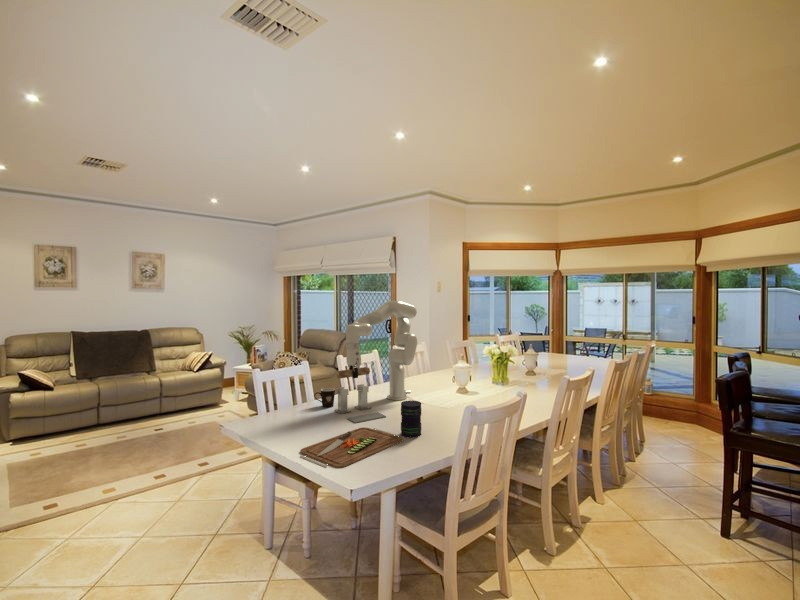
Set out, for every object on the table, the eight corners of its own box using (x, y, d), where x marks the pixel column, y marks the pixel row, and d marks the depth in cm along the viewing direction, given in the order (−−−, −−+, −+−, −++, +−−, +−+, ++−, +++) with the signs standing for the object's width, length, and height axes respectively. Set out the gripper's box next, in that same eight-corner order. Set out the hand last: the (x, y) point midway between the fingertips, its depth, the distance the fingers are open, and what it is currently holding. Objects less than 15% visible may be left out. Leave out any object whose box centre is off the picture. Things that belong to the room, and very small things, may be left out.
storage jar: (397, 436, 193) (397, 404, 192) (404, 429, 202) (404, 399, 202) (417, 439, 189) (417, 406, 189) (424, 432, 198) (424, 401, 198)
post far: (365, 405, 245) (365, 383, 244) (370, 408, 239) (370, 386, 239) (354, 407, 241) (354, 385, 241) (360, 410, 235) (360, 387, 235)
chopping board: (335, 473, 154) (335, 465, 154) (292, 455, 171) (292, 448, 171) (408, 440, 189) (408, 433, 189) (366, 428, 206) (366, 421, 206)
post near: (345, 409, 237) (345, 386, 237) (351, 412, 232) (351, 388, 231) (334, 411, 233) (334, 388, 233) (339, 414, 228) (339, 390, 227)
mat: (377, 413, 230) (377, 412, 230) (386, 417, 222) (386, 416, 222) (347, 418, 219) (347, 417, 219) (355, 423, 212) (355, 422, 212)
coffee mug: (336, 404, 248) (336, 388, 247) (333, 408, 239) (333, 391, 239) (318, 404, 249) (318, 387, 248) (313, 407, 240) (313, 391, 240)
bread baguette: (367, 372, 243) (367, 366, 243) (370, 373, 240) (370, 367, 240) (336, 377, 232) (336, 371, 232) (339, 378, 229) (338, 372, 229)
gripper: (365, 346, 231) (366, 379, 232) (352, 343, 245) (352, 374, 245) (353, 348, 227) (354, 380, 227) (340, 344, 240) (341, 375, 241)
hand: (353, 377), depth 236 cm, fingers closed on bread baguette, 3 cm apart
